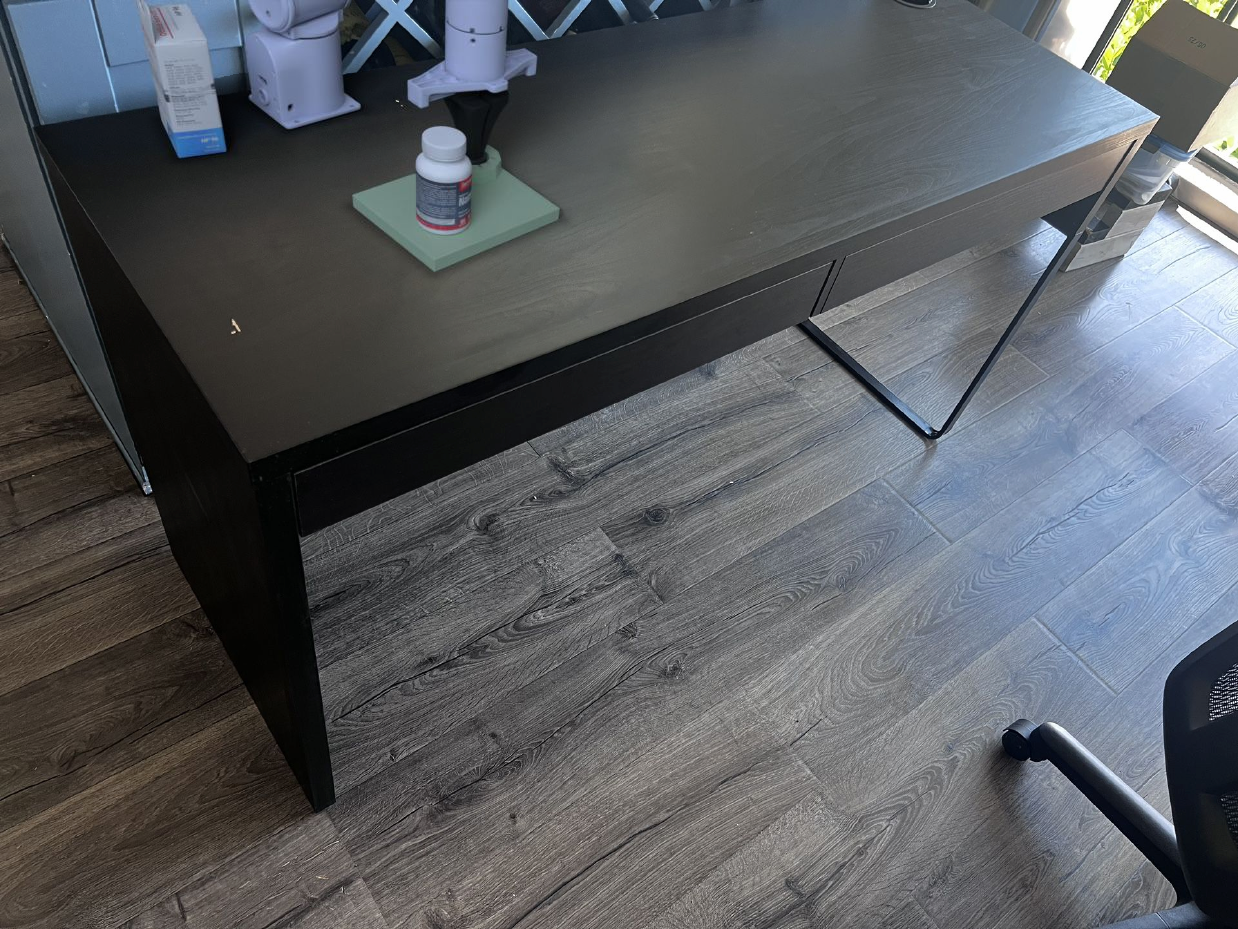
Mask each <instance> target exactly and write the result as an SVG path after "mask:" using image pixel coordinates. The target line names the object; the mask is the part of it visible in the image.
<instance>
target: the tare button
mask: <svg viewBox="0 0 1238 929" xmlns="http://www.w3.org/2000/svg"><path fill="white" fill-rule="evenodd" d="M467 157H468V156H467ZM468 158H469V157H468ZM486 158H487V155H486V153H485V152H484V155H483V157H481V158H479V159H476V160H472V159H470V158H469V160H470V162H471V164H472V165H480V164H483V163H486Z"/></svg>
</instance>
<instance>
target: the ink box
mask: <svg viewBox="0 0 1238 929" xmlns="http://www.w3.org/2000/svg"><path fill="white" fill-rule="evenodd" d="M135 2H136V7H137V13H138V17H139V22H140V26H141V31H142V36H143V42H144V45H145V50H146V55H147V60H148V62H149V63H148V64H149V69H150V73H151V77H152V81H153V86H154V91H155V96H156V100H157V105H158V111H159V115H160V119H161V122H162V124H163V127H164V129H165V131H166V133H167V135H168V136H167V137H168V138H169V140H170V142H171V145H172V147H173V149H174V151H175V153H176V156H177V157H178V158H179V159H184V158H191V157H197V156H205V155H206V156H207V155H212V154H219V153H226V152H227V145H226V139H225V134H224V128H223V123H222V117H221V116H222V115H221V112H220V106H219V101H218V95H217V90H216V84H215V78H214V72H213V67H212V66H213V65H212V59H211V54H210V47H209V40H208V38H207V36H206V35H205V32H204V31H203V28H202V27H201V25H200V23H199V21H198V19H197V17H196V15H195V14H194V12H193V10H192V9H191V6H189V4H188V3H177V4H175V3H174V4H158V5H148V4H147V2H146V0H135Z"/></svg>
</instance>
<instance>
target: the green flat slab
mask: <svg viewBox="0 0 1238 929" xmlns="http://www.w3.org/2000/svg"><path fill="white" fill-rule="evenodd" d="M485 153H486V155H487V158H486V163H483V164H480V165H472V191H471V220H470V224H469V226H468V227H467V228H466V229H465V230H464V231H462V232H460V233H457V234H453V235H438V234H434V233H431V232H428V231H426V230H424V229H423V228H422V227H421V226H420V225H419V224H418V222H417V220H416V172H415V173H411V174H409V175H406V176H403V177H401V178H397V179H395V180H391V181H389V182H386V183H382V184H379V185H377V186H374V187H371V188H368V189H366V190H363V191H359V192H356V193H354V194H352V196H351V197H352V207H353V208H354V209H355V210H357V211H358V212H359V213H360V214H361V215H363V216H364V217H365V218H367V219H368V220H369V221H370V222H371V223H373V224H374V225H375V226H377V227H378V228H379V229H380V230H381V231H382V232H384V233H385V234H386V235H388V236H389V237H390V238H391V239H393V240H394V242H396V243H398V245H400V246H401V247H403V248H404V249H405V250H406V251H408V252H409V253H410V254H411V255H412V256H414V257H415V258H416V259H418V260H419V261H420V262H421V263H423V264H424V265H425V266H426V267H428V268H429V269H430V270H431V271H432V272H434V273H435V272H438V271H440V270H443V269H445V268H448V267H450V266H452V265H454V264H458V263H459V262H462V261H464V260H466V259H468V258H471V257H473V256H476V255H478V254H481V253H483V252H487V250H491V249H492V248H495V247H497V246H501V245H502V244H504V243H507V242H510V241H511V240H514V239H516V238H520V237H521V236H524V235H527V234H528V233H530V232H533V231H536V230H538V229H540V228H543V227H545V226H548V225H550V224H552V223H555V222H556V221H559V218H560V210H561V207H559V206H557V205H556V204H555V203H553V202H551V200H549V199H547V198H546V197H544V196H543V195H542V194H540V193H539V192H537V191H536V190H534V189H533V188H532V187H530V186H528V185H527V184H526V183H525V182H523V181H521V180H520V179H519V178H517V177H516V176H514V175H513V174H511V173H510V172H508V171H507V170H505V169H504V168H503V167H502V157H501V155H500V152H499V151H498V150H497V149H495V148H494V147H492V146H491V145H490V144H487V146H486V149H485Z"/></svg>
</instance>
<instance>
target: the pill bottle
mask: <svg viewBox="0 0 1238 929" xmlns="http://www.w3.org/2000/svg"><path fill="white" fill-rule="evenodd" d="M421 150H422V152H420V153H419V155H418V156H417V157H416V160H415V173H416V220H417V222H418V224H419V225H420V226H421V227H422V228H423V229H424V230H426V231H428V232H431V233H434V234H438V235H453V234H457V233H460V232H462V231H464V230H465V229H466V228H467V227H468V226H469V224H470V220H471V191H472V164H471V162H470V160H469V158H468V157H467V156H466V155H465V154H466V137H465V135H464V134H463V133H462V132H461V131H459V130H457V129H456V128H454V127H451V126H444V125H443V126H442V125H438V126H432V127H428V128H427V129H425V130H423V132H422V134H421Z"/></svg>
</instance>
